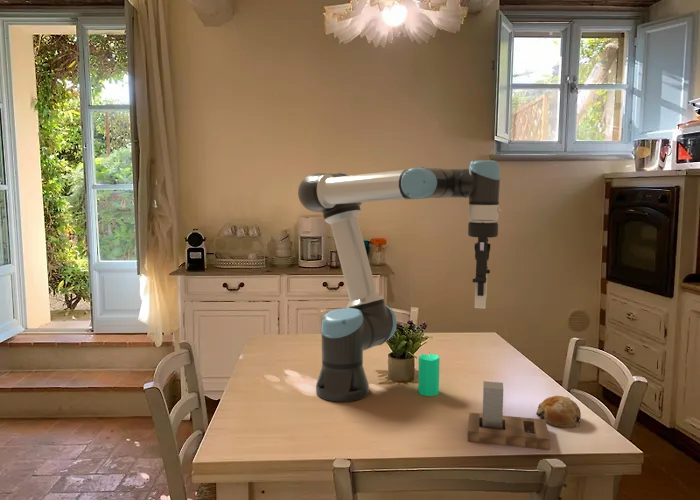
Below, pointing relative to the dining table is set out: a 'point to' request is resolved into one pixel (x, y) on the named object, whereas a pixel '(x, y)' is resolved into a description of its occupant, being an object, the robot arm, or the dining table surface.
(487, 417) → the square bit
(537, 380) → the dining table surface
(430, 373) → the candle
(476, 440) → the socket block
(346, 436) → the dining table surface
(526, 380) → the dining table surface
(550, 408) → the bread roll
